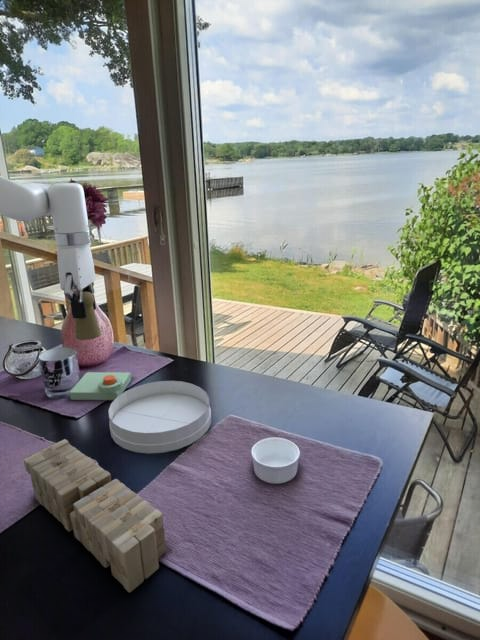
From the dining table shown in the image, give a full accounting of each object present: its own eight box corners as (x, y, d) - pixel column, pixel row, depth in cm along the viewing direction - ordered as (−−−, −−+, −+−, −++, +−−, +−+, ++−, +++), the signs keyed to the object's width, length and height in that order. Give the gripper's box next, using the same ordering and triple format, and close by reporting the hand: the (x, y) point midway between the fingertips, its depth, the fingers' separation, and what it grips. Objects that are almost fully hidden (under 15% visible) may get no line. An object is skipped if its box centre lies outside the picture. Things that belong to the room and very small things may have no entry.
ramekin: (244, 462, 84) (244, 443, 83) (286, 451, 87) (286, 432, 86) (263, 492, 77) (263, 472, 75) (308, 479, 80) (308, 459, 78)
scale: (70, 401, 108) (67, 387, 107) (88, 380, 119) (85, 366, 117) (119, 402, 107) (117, 387, 106) (132, 380, 118) (131, 366, 117)
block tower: (173, 562, 65) (72, 472, 83) (170, 518, 62) (66, 435, 80) (128, 601, 59) (30, 495, 77) (122, 554, 56) (22, 456, 74)
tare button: (102, 385, 108) (101, 380, 107) (106, 380, 110) (105, 374, 110) (113, 385, 108) (112, 380, 107) (117, 380, 110) (116, 374, 110)
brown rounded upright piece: (106, 333, 110) (100, 291, 107) (87, 341, 105) (80, 297, 102) (89, 329, 113) (83, 288, 109) (70, 337, 108) (62, 294, 105)
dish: (144, 392, 111) (142, 375, 109) (226, 406, 104) (225, 387, 102) (88, 443, 92) (85, 423, 90) (184, 464, 84) (182, 442, 83)
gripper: (73, 233, 110) (84, 303, 116) (39, 246, 94) (53, 326, 100) (102, 233, 109) (111, 303, 115) (73, 245, 93) (85, 326, 99)
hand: (84, 313), depth 107 cm, fingers closed on brown rounded upright piece, 5 cm apart
